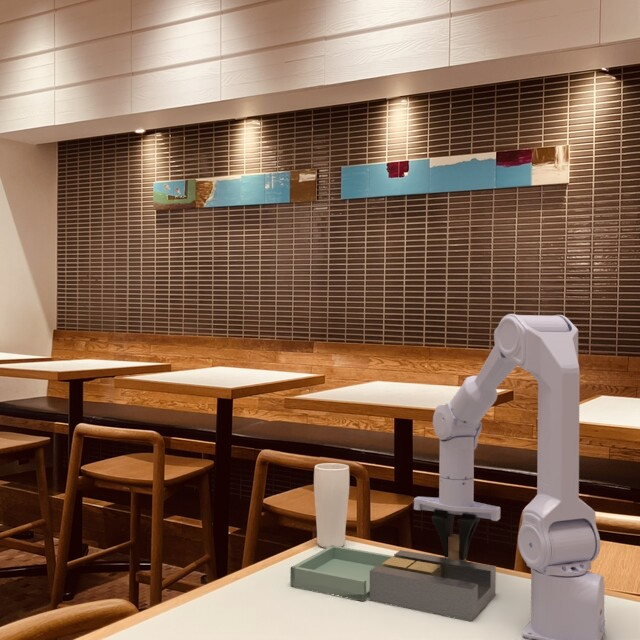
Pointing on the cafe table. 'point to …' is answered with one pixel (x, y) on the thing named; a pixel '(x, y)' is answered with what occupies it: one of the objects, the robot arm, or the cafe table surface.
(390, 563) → the tan wooden square block
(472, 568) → the grey open tray
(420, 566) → the tan square block
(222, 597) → the cafe table surface
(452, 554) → the stepped wooden block
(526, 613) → the cafe table surface
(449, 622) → the cafe table surface
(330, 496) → the drinking glass
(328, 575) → the tray
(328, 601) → the cafe table surface
